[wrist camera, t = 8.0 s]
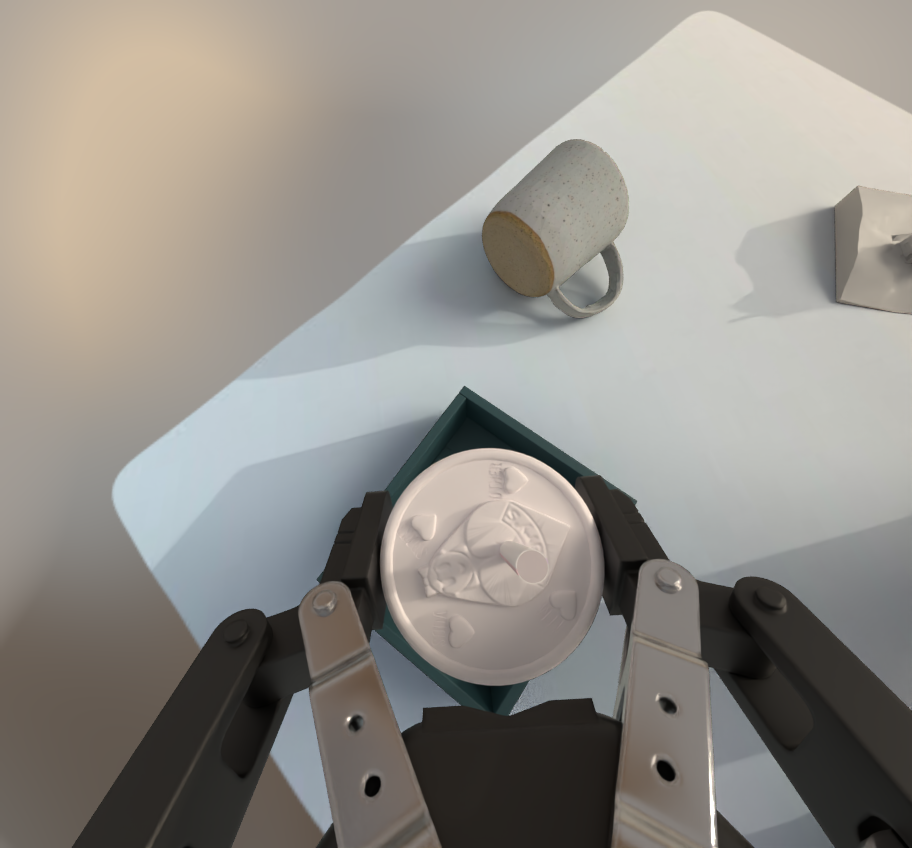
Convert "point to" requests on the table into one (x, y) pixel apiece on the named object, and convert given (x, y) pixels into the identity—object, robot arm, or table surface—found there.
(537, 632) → the smoothie
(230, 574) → the table surface
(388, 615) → the bin
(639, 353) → the table surface
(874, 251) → the miniature house
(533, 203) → the ceramic mug
